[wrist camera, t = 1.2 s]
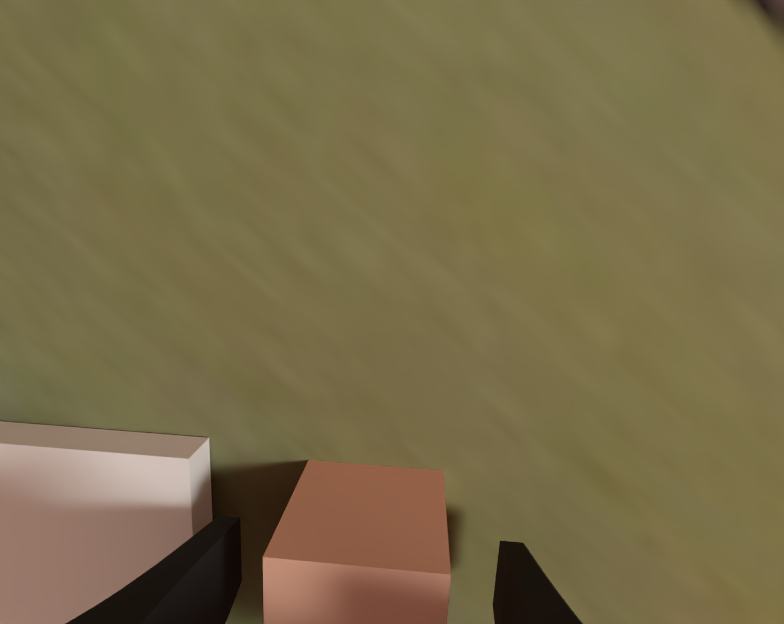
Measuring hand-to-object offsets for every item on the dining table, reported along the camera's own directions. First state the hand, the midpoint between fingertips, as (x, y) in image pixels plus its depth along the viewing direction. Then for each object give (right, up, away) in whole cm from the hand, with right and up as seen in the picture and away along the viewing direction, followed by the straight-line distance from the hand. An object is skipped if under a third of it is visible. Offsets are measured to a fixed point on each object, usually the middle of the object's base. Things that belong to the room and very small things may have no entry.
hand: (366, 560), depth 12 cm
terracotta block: (0, 0, +2) cm, 2 cm away
